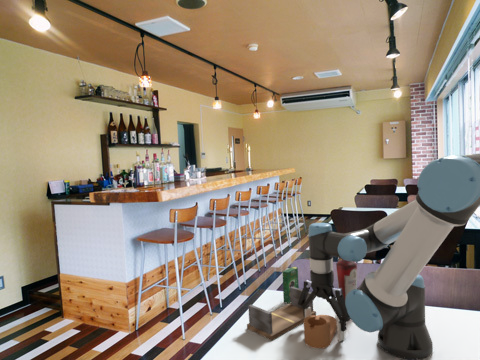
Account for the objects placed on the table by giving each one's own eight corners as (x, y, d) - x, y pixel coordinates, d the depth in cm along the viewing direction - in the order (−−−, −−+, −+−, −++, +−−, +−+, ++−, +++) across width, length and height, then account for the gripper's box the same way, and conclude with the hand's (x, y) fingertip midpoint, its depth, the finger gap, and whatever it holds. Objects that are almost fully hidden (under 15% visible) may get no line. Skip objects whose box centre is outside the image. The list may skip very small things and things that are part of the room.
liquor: (347, 307, 135) (344, 236, 133) (363, 314, 129) (360, 239, 127) (334, 312, 131) (330, 239, 130) (349, 320, 125) (346, 243, 123)
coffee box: (294, 295, 149) (292, 265, 149) (299, 297, 147) (298, 266, 147) (283, 302, 143) (281, 271, 143) (289, 304, 141) (287, 272, 141)
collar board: (316, 315, 130) (315, 293, 130) (271, 340, 114) (270, 315, 114) (291, 306, 139) (290, 285, 139) (247, 328, 123) (245, 305, 123)
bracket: (328, 351, 107) (327, 329, 106) (301, 346, 110) (300, 324, 110) (338, 324, 123) (338, 305, 122) (315, 320, 127) (314, 302, 126)
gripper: (361, 274, 109) (364, 341, 110) (299, 260, 127) (302, 317, 128) (348, 281, 104) (351, 351, 105) (286, 265, 122) (288, 325, 123)
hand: (324, 333), depth 117 cm, fingers open, 12 cm apart
